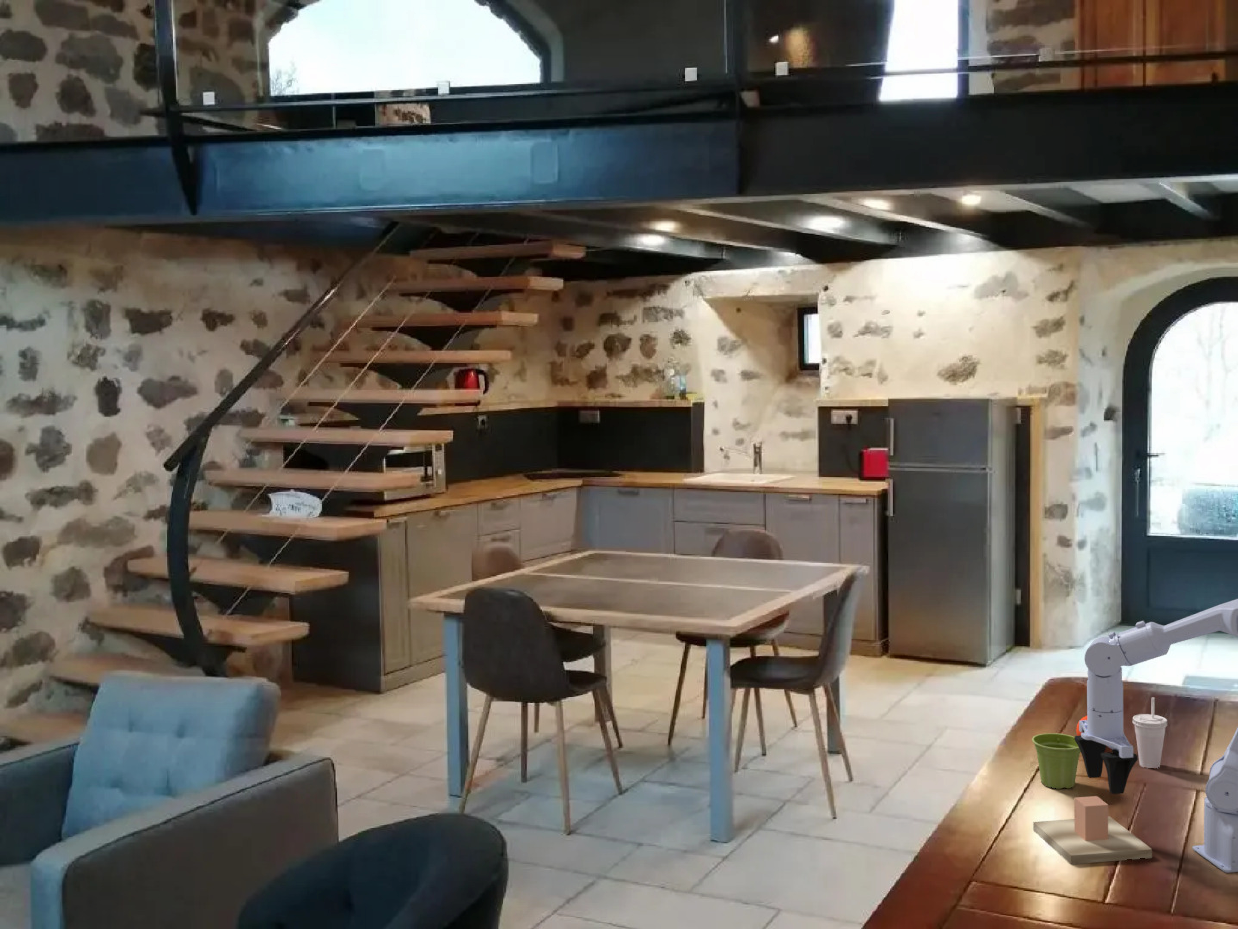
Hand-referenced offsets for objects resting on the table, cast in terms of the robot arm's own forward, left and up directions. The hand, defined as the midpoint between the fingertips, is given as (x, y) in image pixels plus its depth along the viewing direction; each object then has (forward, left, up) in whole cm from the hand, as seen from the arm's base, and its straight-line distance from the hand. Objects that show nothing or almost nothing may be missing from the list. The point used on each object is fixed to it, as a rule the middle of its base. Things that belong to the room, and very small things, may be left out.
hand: (1105, 785), depth 202 cm
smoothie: (+31, -25, -10) cm, 41 cm away
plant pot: (+25, -3, -10) cm, 27 cm away
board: (-2, +4, -9) cm, 10 cm away
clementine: (+43, -20, -10) cm, 48 cm away
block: (-2, +4, -8) cm, 9 cm away
